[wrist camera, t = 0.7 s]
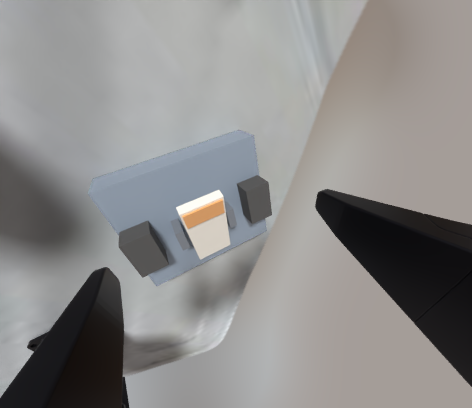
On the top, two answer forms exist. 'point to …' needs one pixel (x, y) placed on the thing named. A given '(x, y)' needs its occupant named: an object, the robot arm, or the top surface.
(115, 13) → the top surface
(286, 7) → the top surface
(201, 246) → the breaker paddle
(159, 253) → the plug left
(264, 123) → the top surface
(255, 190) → the plug right
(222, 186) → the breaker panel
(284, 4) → the top surface
